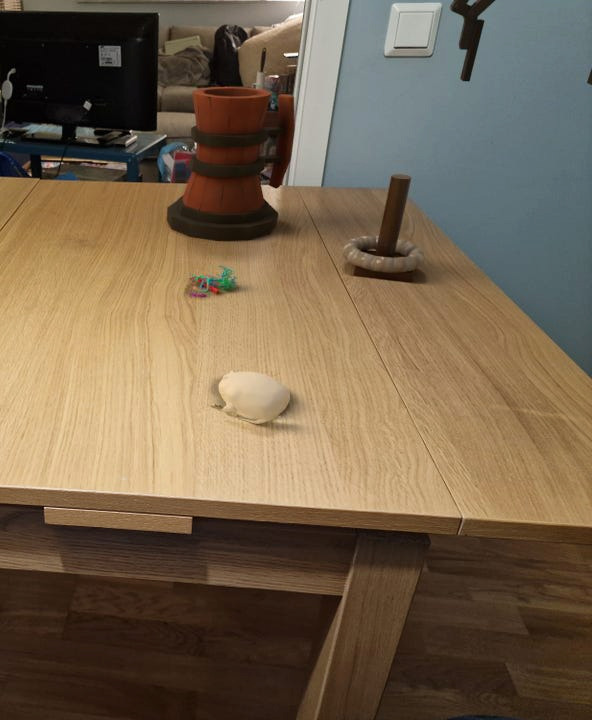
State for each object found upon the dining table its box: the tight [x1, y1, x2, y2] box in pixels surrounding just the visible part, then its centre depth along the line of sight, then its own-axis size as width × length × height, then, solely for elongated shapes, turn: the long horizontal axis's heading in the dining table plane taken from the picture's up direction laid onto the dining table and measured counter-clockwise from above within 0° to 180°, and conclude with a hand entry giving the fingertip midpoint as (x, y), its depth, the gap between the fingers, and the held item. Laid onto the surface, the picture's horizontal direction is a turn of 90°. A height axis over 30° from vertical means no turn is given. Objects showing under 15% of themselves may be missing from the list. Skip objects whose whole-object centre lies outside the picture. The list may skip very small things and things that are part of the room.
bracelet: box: [341, 235, 426, 273], centre depth 110 cm, size 13×13×2 cm
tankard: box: [166, 86, 296, 242], centre depth 128 cm, size 22×25×25 cm
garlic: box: [210, 370, 291, 425], centre depth 75 cm, size 8×7×4 cm
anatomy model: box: [185, 265, 238, 298], centre depth 101 cm, size 5×8×7 cm
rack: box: [352, 173, 415, 283], centre depth 108 cm, size 9×9×16 cm
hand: (527, 82), depth 78 cm, fingers open, 13 cm apart
